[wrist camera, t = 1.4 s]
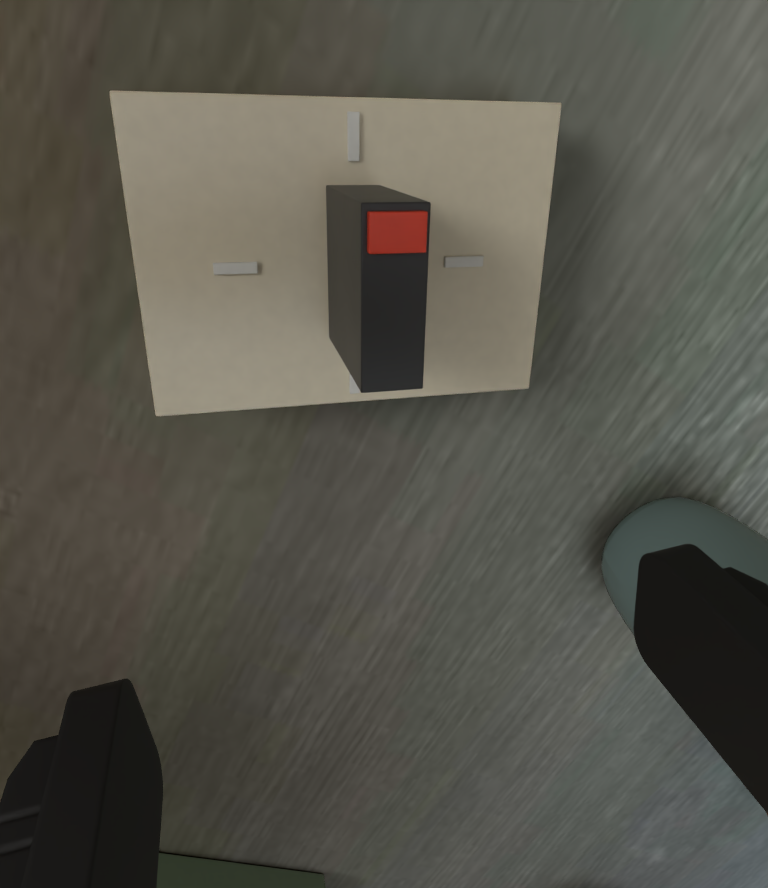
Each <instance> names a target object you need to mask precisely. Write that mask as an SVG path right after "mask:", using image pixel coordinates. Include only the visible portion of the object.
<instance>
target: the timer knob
mask: <svg viewBox="0 0 768 888" xmlns="http://www.w3.org/2000/svg"><path fill="white" fill-rule="evenodd" d="M430 210H431V203H430V202H428V201H425V200H422V199H419V198H416V197H413V196H410V195H407V194H405V193H402V192H399V191H396V190H393V189H390V188H387V187H384V186H381V185H327V186H326V214H327V262H328V309H329V338H330V340H331V342H332V343H333V345H334V347H335V348H336V350H337V352H338V354H339V355H340V357H341V359H342V360H343V362H344V364H345V366H346V367H347V369H348V371H349V372H350V374H351V376H352V378H353V379H354V381H355V383H356V385H357V386H358V388H359V390H360V391H361V393H370V392H384V391H398V390H412V389H422V388H423V374H424V351H425V327H426V304H427V281H428V257H429V234H430Z"/></svg>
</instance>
